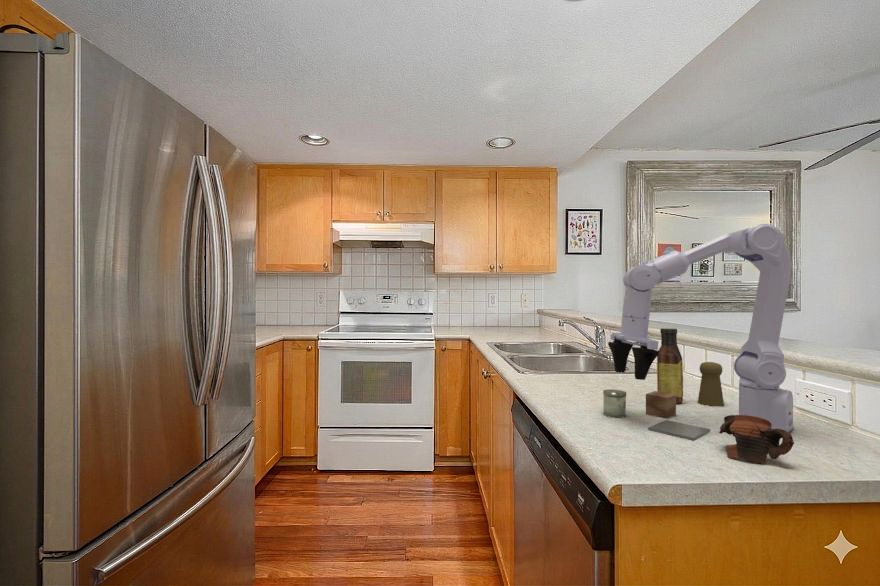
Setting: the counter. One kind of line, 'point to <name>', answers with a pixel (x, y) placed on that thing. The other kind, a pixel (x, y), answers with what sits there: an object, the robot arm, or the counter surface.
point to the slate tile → (679, 429)
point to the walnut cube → (661, 404)
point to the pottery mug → (755, 438)
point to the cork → (710, 384)
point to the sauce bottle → (670, 365)
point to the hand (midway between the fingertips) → (629, 375)
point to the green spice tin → (614, 403)
